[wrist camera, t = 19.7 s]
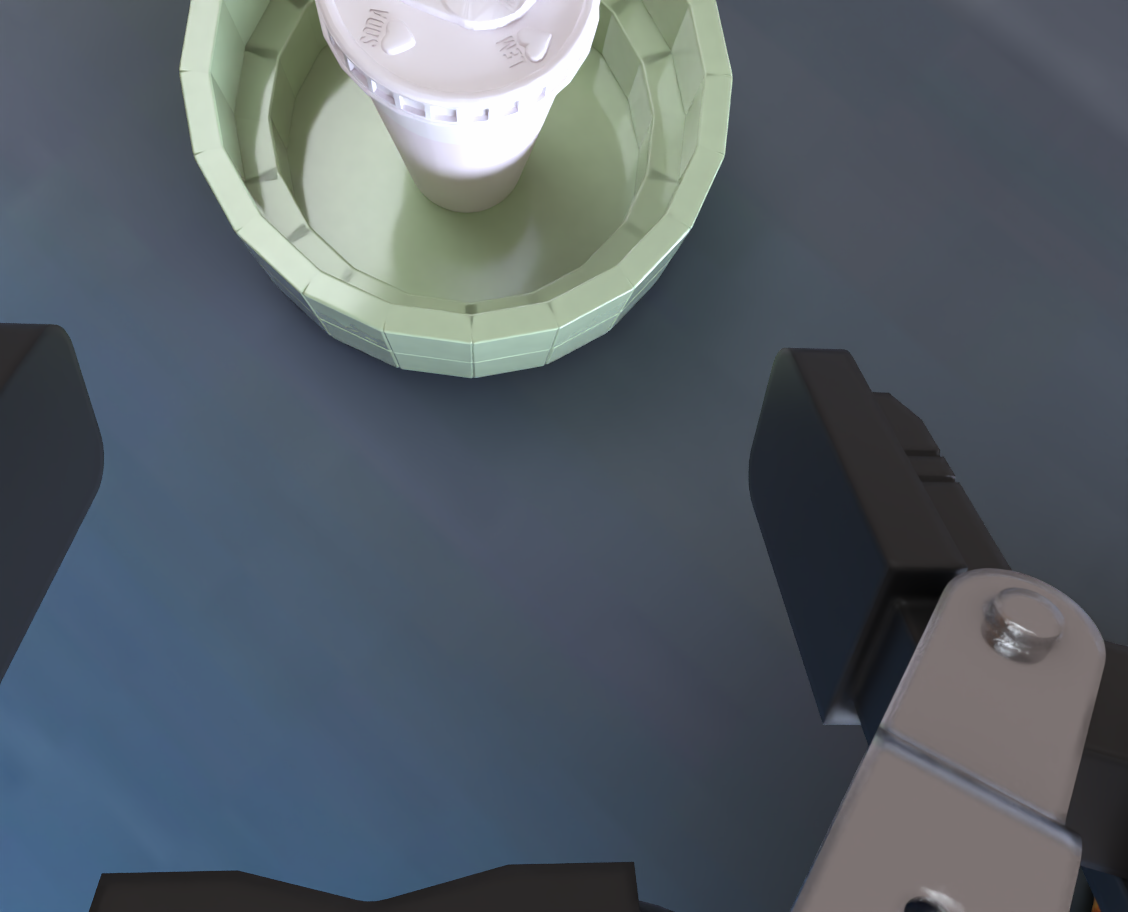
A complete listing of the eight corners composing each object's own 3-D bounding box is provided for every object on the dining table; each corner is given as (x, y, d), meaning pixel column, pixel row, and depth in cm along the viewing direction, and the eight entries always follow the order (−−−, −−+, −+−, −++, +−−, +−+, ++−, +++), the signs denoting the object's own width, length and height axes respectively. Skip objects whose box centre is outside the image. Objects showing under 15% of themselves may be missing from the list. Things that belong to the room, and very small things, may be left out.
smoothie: (575, 245, 29) (661, -25, 16) (373, 262, 29) (275, -4, 15) (552, 55, 30) (616, -368, 16) (354, 68, 29) (242, -364, 15)
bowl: (155, 63, 29) (81, -48, 24) (551, -119, 31) (567, -260, 26) (373, 461, 29) (349, 440, 23) (764, 251, 31) (826, 186, 25)
